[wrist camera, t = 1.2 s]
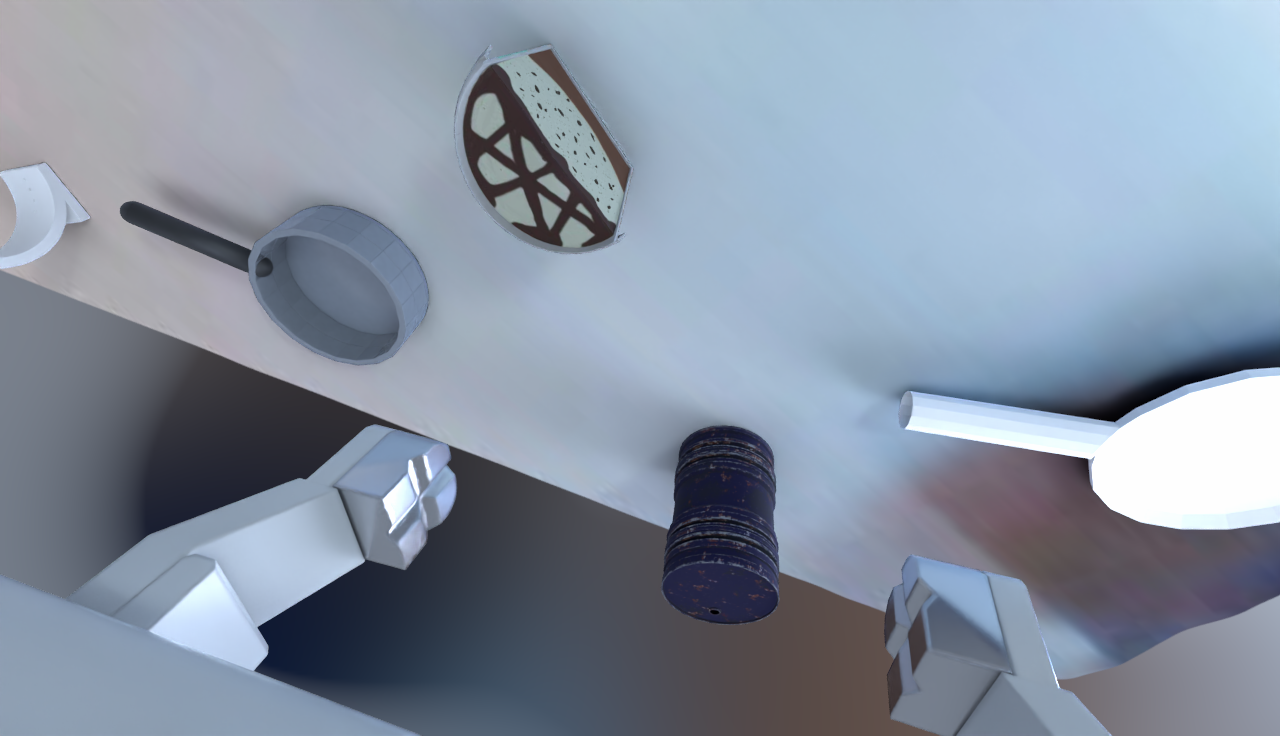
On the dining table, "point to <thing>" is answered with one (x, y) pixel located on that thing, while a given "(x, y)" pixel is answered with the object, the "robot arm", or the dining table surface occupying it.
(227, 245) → the saucepan handle
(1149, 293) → the dining table surface
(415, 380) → the dining table surface
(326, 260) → the saucepan
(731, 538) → the storage jar
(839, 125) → the dining table surface
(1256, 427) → the frying pan
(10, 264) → the headphone stand
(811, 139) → the dining table surface
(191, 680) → the robot arm
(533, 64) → the food container
